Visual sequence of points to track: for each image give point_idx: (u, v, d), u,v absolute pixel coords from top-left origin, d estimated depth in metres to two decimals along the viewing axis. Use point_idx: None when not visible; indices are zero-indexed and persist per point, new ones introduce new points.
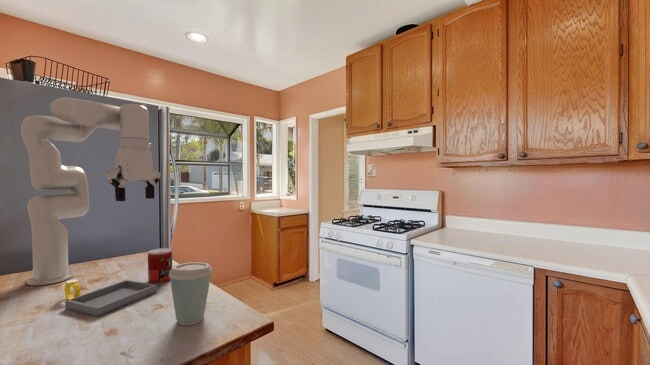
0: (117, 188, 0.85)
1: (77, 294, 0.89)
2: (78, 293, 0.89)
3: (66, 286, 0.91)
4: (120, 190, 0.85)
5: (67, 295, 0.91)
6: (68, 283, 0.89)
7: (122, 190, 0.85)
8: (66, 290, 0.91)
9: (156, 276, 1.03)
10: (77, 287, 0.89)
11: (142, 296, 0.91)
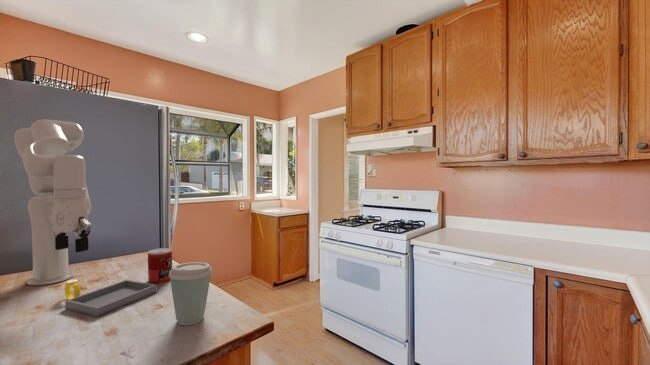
0: (84, 238, 0.88)
1: (77, 294, 0.89)
2: (78, 293, 0.89)
3: (66, 286, 0.91)
4: None
5: (67, 295, 0.91)
6: (68, 283, 0.89)
7: (87, 239, 0.89)
8: (66, 290, 0.91)
9: (156, 276, 1.03)
10: (77, 287, 0.89)
11: (142, 296, 0.91)
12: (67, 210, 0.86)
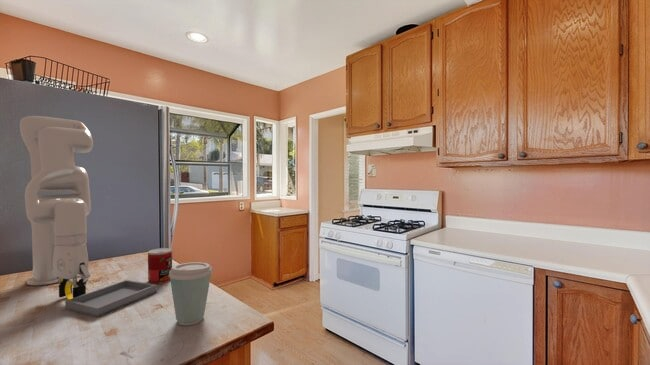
0: (82, 286, 0.89)
1: None
2: None
3: (66, 286, 0.91)
4: None
5: (67, 295, 0.91)
6: (68, 283, 0.89)
7: (85, 286, 0.90)
8: (66, 290, 0.91)
9: (156, 276, 1.03)
10: None
11: (142, 296, 0.91)
12: (68, 257, 0.86)
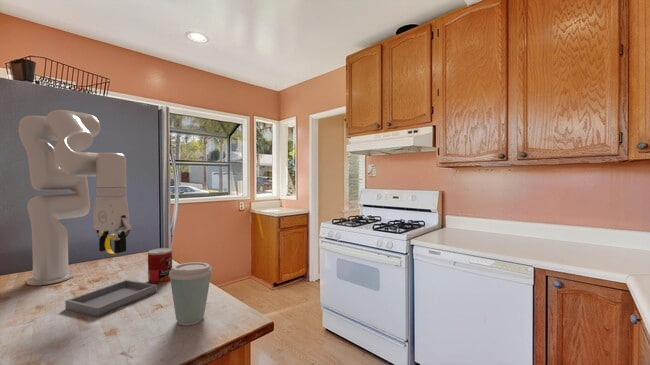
0: (123, 240, 0.88)
1: None
2: None
3: (106, 240, 0.90)
4: None
5: (107, 249, 0.90)
6: (109, 236, 0.88)
7: (125, 240, 0.89)
8: (106, 244, 0.90)
9: (156, 276, 1.03)
10: None
11: (142, 296, 0.91)
12: (110, 208, 0.85)
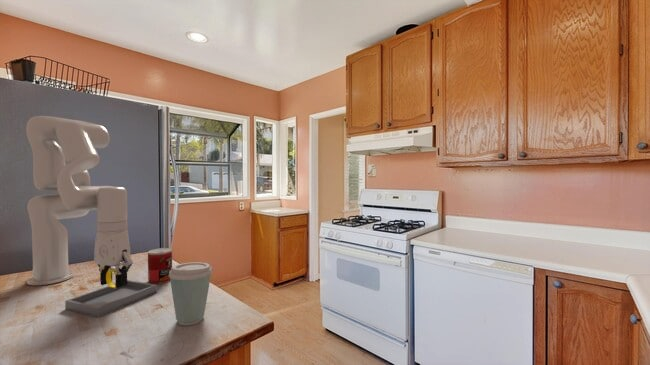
0: (124, 274, 0.88)
1: None
2: None
3: (107, 274, 0.90)
4: None
5: (108, 283, 0.90)
6: (110, 270, 0.88)
7: (126, 274, 0.89)
8: (107, 277, 0.90)
9: (156, 276, 1.03)
10: None
11: (142, 296, 0.91)
12: (111, 244, 0.85)
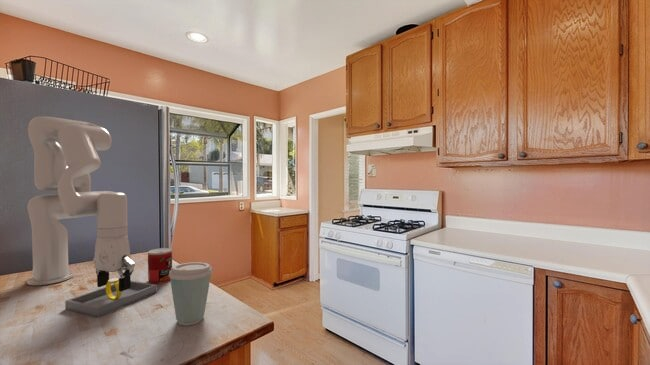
0: (127, 277, 0.88)
1: (119, 293, 0.88)
2: (120, 292, 0.89)
3: (107, 285, 0.90)
4: None
5: (108, 294, 0.90)
6: (110, 282, 0.88)
7: (129, 277, 0.89)
8: (107, 289, 0.90)
9: (156, 276, 1.03)
10: None
11: (142, 296, 0.91)
12: (111, 249, 0.85)
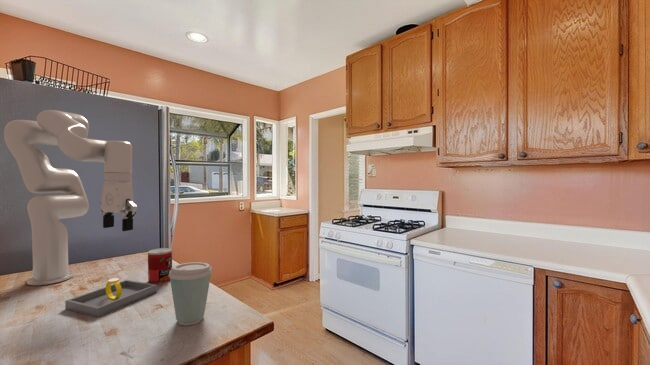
0: (130, 219, 0.95)
1: (119, 293, 0.88)
2: (120, 292, 0.89)
3: (107, 285, 0.90)
4: None
5: (108, 294, 0.90)
6: (110, 282, 0.88)
7: (132, 220, 0.96)
8: (107, 289, 0.90)
9: (156, 276, 1.03)
10: (119, 286, 0.89)
11: (142, 296, 0.91)
12: (116, 192, 0.93)
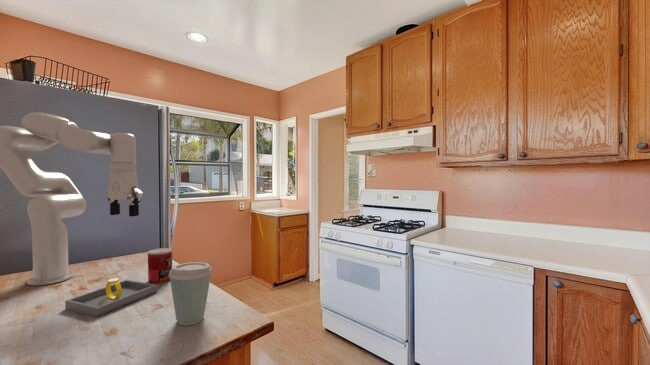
0: (136, 205, 1.02)
1: (119, 293, 0.88)
2: (120, 292, 0.89)
3: (107, 285, 0.90)
4: None
5: (108, 294, 0.90)
6: (110, 282, 0.88)
7: (138, 206, 1.04)
8: (107, 289, 0.90)
9: (156, 276, 1.03)
10: (119, 286, 0.89)
11: (142, 296, 0.91)
12: (122, 180, 1.00)
